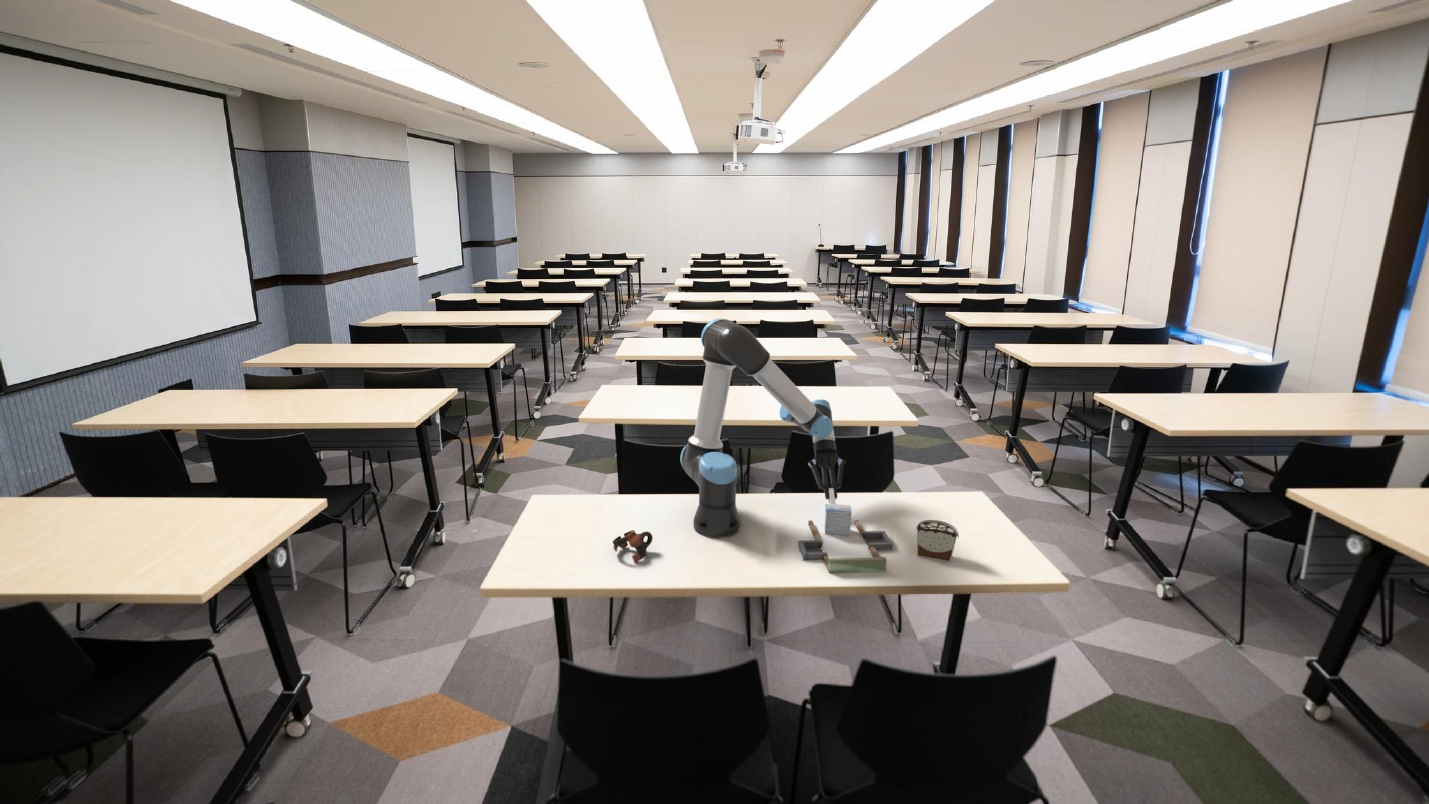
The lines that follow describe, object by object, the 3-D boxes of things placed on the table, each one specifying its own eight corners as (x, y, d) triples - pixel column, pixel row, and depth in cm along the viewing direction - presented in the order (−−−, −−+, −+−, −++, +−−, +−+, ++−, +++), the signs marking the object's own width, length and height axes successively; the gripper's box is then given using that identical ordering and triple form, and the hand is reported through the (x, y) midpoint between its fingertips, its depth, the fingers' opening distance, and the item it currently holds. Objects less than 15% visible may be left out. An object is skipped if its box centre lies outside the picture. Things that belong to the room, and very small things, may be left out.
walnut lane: (808, 524, 221) (808, 513, 219) (857, 523, 222) (858, 512, 220) (828, 573, 193) (829, 560, 192) (885, 571, 194) (886, 559, 193)
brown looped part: (627, 568, 194) (615, 543, 194) (617, 567, 203) (605, 542, 202) (662, 547, 200) (650, 522, 200) (651, 547, 208) (639, 523, 208)
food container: (955, 552, 205) (959, 523, 202) (955, 562, 199) (959, 532, 196) (913, 545, 209) (916, 516, 206) (912, 555, 203) (915, 525, 200)
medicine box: (848, 529, 218) (850, 504, 216) (849, 535, 214) (852, 511, 211) (823, 527, 219) (825, 503, 216) (824, 534, 215) (826, 509, 212)
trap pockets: (794, 538, 212) (795, 532, 211) (884, 536, 214) (884, 530, 213) (803, 560, 199) (803, 554, 198) (897, 558, 201) (898, 552, 200)
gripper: (840, 446, 237) (849, 511, 227) (803, 447, 237) (811, 512, 226) (845, 437, 231) (855, 504, 220) (807, 438, 230) (815, 505, 219)
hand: (832, 508), depth 223 cm, fingers closed
